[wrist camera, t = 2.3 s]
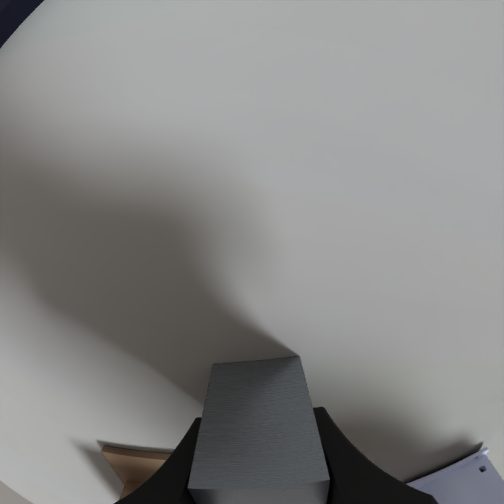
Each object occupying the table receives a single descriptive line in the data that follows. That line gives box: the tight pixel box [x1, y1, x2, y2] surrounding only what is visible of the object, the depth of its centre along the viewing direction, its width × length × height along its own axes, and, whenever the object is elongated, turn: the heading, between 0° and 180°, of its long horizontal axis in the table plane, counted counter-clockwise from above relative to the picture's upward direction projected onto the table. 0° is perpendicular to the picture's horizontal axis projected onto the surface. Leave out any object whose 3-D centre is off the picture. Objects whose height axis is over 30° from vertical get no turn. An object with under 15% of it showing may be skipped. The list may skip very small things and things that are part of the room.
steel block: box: [188, 356, 330, 504], centre depth 10 cm, size 4×4×7 cm
